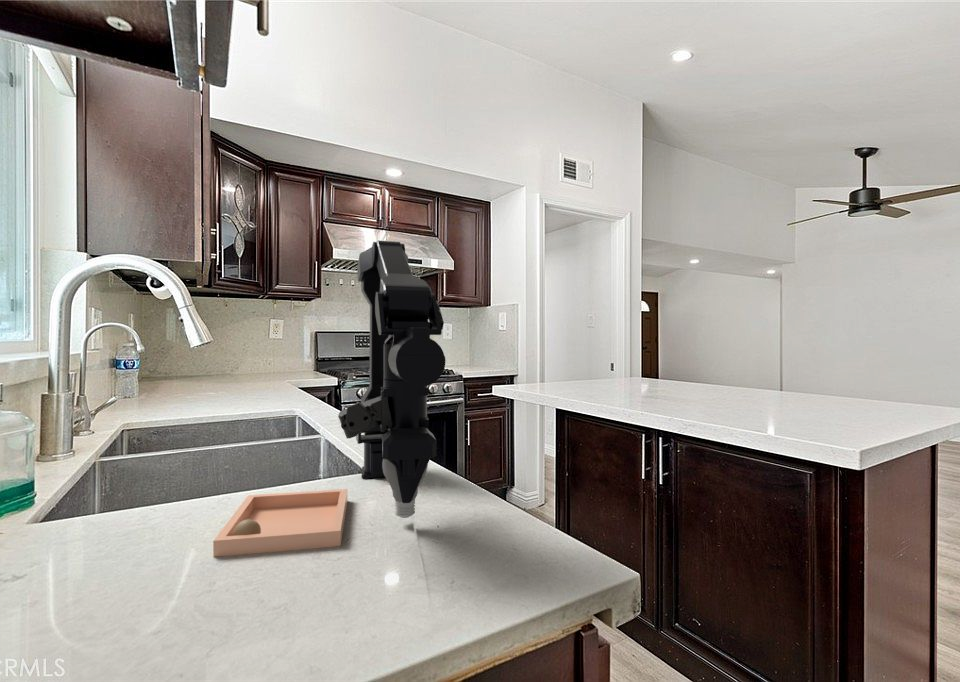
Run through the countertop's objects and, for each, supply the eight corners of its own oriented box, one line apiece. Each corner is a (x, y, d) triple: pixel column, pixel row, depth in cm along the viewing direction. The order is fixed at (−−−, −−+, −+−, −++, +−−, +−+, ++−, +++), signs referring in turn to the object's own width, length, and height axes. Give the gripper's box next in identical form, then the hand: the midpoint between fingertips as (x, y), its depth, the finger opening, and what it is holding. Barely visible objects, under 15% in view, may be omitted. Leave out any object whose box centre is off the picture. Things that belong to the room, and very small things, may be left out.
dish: (248, 511, 72) (248, 495, 72) (347, 504, 75) (347, 488, 75) (213, 561, 56) (213, 540, 56) (340, 550, 59) (340, 530, 59)
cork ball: (237, 540, 60) (237, 516, 60) (263, 538, 61) (263, 514, 61) (230, 551, 57) (230, 525, 57) (257, 549, 58) (257, 523, 58)
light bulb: (396, 529, 61) (396, 449, 61) (374, 515, 66) (374, 441, 66) (436, 517, 65) (436, 442, 65) (412, 505, 70) (412, 435, 70)
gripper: (346, 373, 73) (346, 478, 73) (337, 388, 54) (337, 527, 55) (421, 372, 75) (421, 474, 75) (437, 386, 57) (436, 520, 57)
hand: (405, 495), depth 65 cm, fingers closed on light bulb, 5 cm apart
